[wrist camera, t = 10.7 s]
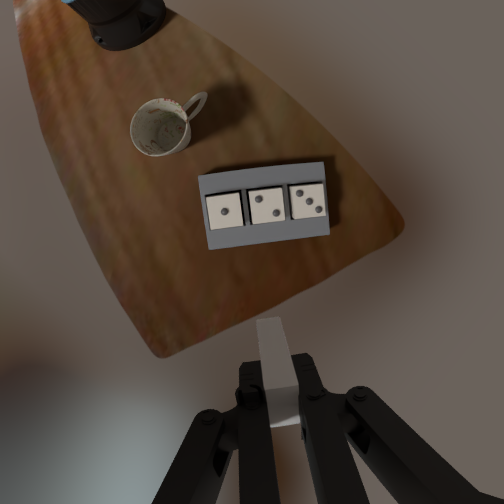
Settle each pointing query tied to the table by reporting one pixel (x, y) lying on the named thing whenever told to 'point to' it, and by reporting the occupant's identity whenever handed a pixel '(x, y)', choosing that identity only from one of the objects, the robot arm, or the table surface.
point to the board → (242, 182)
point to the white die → (266, 205)
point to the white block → (224, 210)
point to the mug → (164, 125)
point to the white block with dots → (306, 200)
